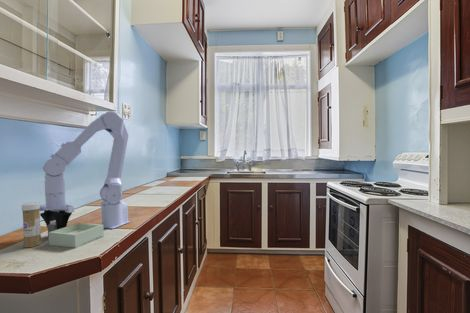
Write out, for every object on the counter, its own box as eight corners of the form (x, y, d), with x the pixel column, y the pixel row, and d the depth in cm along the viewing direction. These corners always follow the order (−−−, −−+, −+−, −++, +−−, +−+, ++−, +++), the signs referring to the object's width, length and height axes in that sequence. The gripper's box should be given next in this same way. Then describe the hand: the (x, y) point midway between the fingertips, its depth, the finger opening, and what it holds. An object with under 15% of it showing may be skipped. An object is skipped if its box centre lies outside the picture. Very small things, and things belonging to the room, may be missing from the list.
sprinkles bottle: (19, 248, 83) (17, 204, 82) (31, 242, 87) (29, 201, 87) (34, 247, 82) (32, 204, 82) (45, 242, 87) (43, 201, 87)
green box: (79, 234, 95) (78, 222, 95) (103, 236, 92) (103, 224, 92) (49, 244, 85) (48, 232, 85) (75, 248, 81) (75, 234, 81)
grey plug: (59, 234, 96) (58, 218, 96) (66, 234, 95) (65, 219, 95) (48, 237, 92) (47, 221, 92) (55, 238, 91) (54, 222, 91)
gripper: (28, 194, 92) (30, 234, 92) (60, 195, 87) (62, 237, 88) (48, 191, 98) (50, 228, 99) (78, 192, 94) (80, 230, 94)
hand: (57, 231), depth 94 cm, fingers open, 4 cm apart
